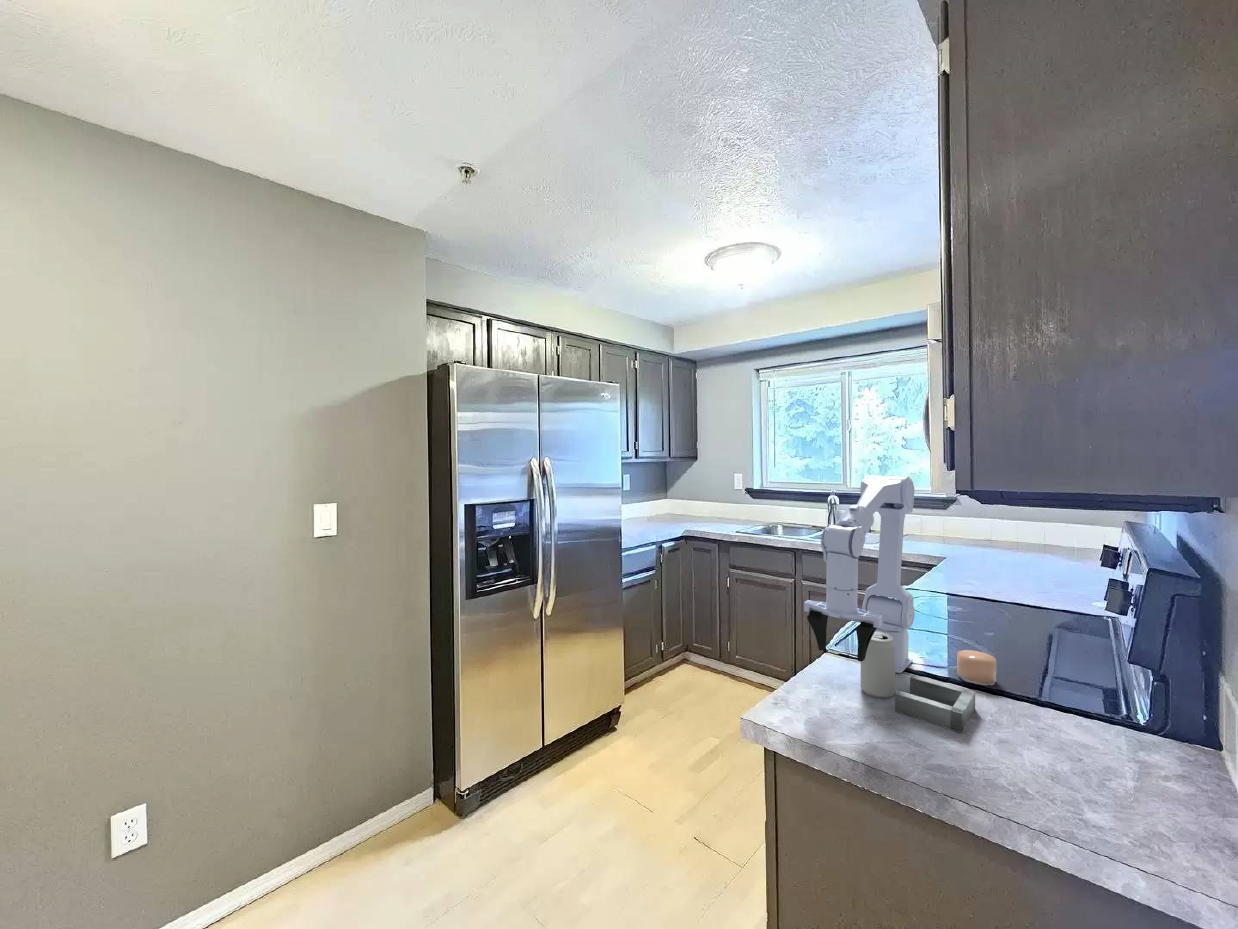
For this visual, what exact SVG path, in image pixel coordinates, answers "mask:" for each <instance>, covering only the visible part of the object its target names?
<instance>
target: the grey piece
mask: <svg viewBox="0 0 1238 929" xmlns="http://www.w3.org/2000/svg"><path fill="white" fill-rule="evenodd" d="M975 710H976V691H974V690H970V689H967V688H963V687H959V686H956V685H952V684H948V683H945V682H942V681H937V680H935V679H930V678H927V677H923V676H919V675H916V674H913V673H911V675H910V677H909V692H905V691H903V690H902V691H901V690H899V689H898V690H897V691H895V693H894V712H896V713H898V714H902V715H906V716H909V717H911V718H915V719H918V720H921V721H923V722H927V723H930V724H933V725H935V726H938V727H941V728H945V729H948V730H951V731H954V732H957V733H961V734H962V733H963V732H964V730H965V729H966V727H967V725H968V723H969V721H970V720H971V718H972V716H973V714H974V712H975Z"/></svg>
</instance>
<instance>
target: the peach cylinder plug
mask: <svg viewBox="0 0 1238 929" xmlns="http://www.w3.org/2000/svg"><path fill="white" fill-rule="evenodd" d="M956 655H957V656H956V660H957V662H956V664H957V665H956V666H957V667H956V675H957V674H958V675H961V676H962V677H964V678H966V679H968V680H970V681H976V682H979V683H982V684H990V683H995V682H996V683H997V659H996V657H995V656H993V655H991V654H988V653H986V652H982V651H979V650H972V649H963V650H958V651H957V654H956Z"/></svg>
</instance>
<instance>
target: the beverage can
mask: <svg viewBox="0 0 1238 929" xmlns="http://www.w3.org/2000/svg"><path fill="white" fill-rule="evenodd" d="M860 688H861V690H862V691H863V692H864V693H865V694H867V695H869V696H871V697H874V698H876V699H888V698H891V697H892V696H893V695H894V696H895V693H896V672H895V643H894V641H893V637H892V636H891V635H889V634H886V633H883V632H877V631H875V632H874V634H873V636H872V638H871V640H870V643H869V645H868V648H867V652H866V656H865V659H864V660H863V661H862V662H860Z"/></svg>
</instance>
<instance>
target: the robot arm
mask: <svg viewBox="0 0 1238 929" xmlns="http://www.w3.org/2000/svg"><path fill="white" fill-rule="evenodd" d="M859 488H860V489H859V490H860V491H859V492H860V497H859V499H858V501H857V503H856V504H852V505H850V506H849V507H847V508H846V509H845V511H844V512H843V514H842V515H841V516H840V518H839V519H838V520H837V522H836V523H835V524H830V525H829V526H827V527H825V528H824V530H823V531H822V534H821V539H820V544H821V545H820V547H821V550H822V553H823V561H824V563H826V567H825V568H826V571H825V572H826V573H825V574H826V576H825V577H826V582H825V583H826V586H825V587H826V591H825V592H826V594H825V595H826V596H825V600H826V601H825V602H824V601H815V600H810V599H807V600H805V601H804V602H803V604H804V606H803V609H804V610H803V612H805V613H806V612H807V613H808V615H807V616H806V619H807V622H808V624H809V625H810V627H811V629H812V631H813V633H814V636H815V640H816V643H817V647H818V650H819V651H821V652H822V651H824V650H825V649H827V630H828V628H827V626H828V619H829V617H832V618H836V619H842V620H847V621H851V622H854V623H860V624H859V625H856V626H855V631H856V638H857V639H856V640H857V653H856V654H857V655H856V656H857V661H858V662H860V663H861V662H862V661H863V660H864V659H865V656H866V652H867V648H868V645H869V643H870V640H871V638H872V636H873V634H874V632H875V631H877V632H883V633H886V634H889V635H891V636H892V637H893V641H894V643H895V674H896V673H897V674H902V673H903V671H905V670H906V669H907V668H908V666H910V665H911V663H913V661H914V660H913V658H911V657H909V638H910V637H909V632H908V630H909V629H910V628H911V627H912V626H913V624H914V621H915V615H916V614H915V607H914V596H913V594H911V592H909V591H908V590H907V589H906V588H905V587H903V586H902V585H901V579H902V560H903V544H904V542H903V541H904V528H905V526H904V525H905V518H906V515H908V514H911V513H912V512H913V509H914V504H915V485H914V481H913V480H912V479H911V477H910V476H884V475H870V474H866V475H865V476H864V477H863V478H862V480H861V482H860V487H859ZM876 512H877V513H878V514H879V516H880V528H879V529H880V530H879V544H878V545H879V546H878V561H877V578H876V583H874V584H873V585H870V586H869V587H867V588H866V589H865V592H864V598H863V601H862V606H861V607H862V608H859V607H858V606H859V605H858V602H859V601H858V600H859V599H858V597H859V594H858V593H859V590H858V589H859V557H860V556H861V555H862V554H863V550H864V545H865V543H866V535H867V534H868V533H869V530H870V529H871V528H872V527H873V525H874V523H875V518H874V515H875V513H876Z"/></svg>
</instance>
